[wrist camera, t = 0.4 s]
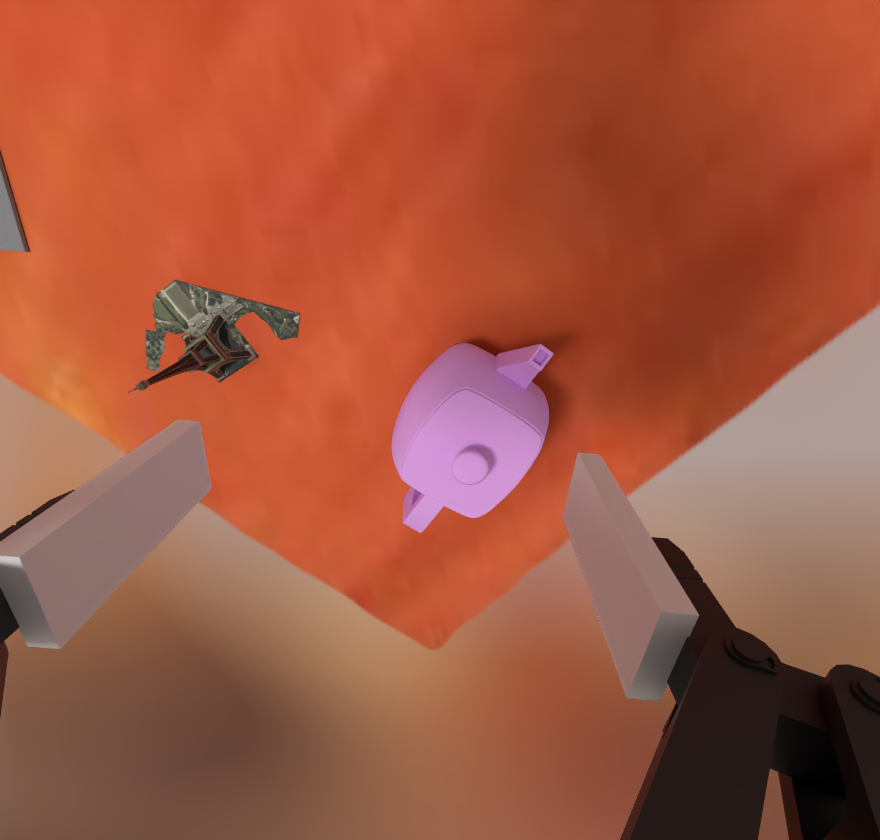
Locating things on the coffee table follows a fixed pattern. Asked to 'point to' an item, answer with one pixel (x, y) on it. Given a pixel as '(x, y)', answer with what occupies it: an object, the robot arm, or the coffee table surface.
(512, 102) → the coffee table surface
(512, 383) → the teapot
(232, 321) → the eiffel tower figurine
